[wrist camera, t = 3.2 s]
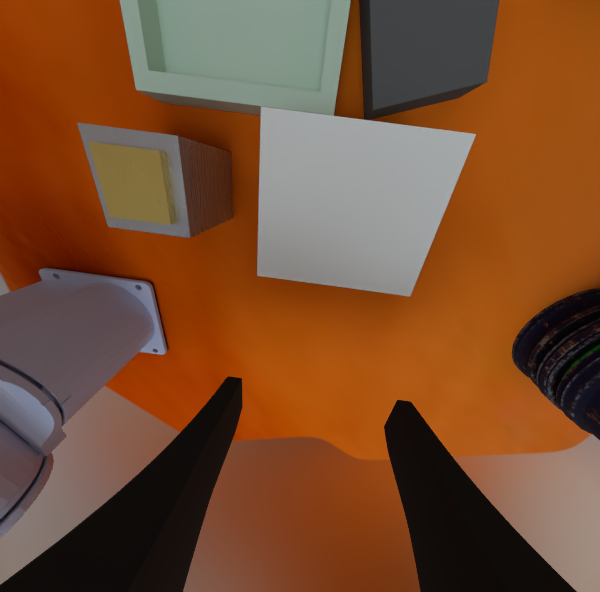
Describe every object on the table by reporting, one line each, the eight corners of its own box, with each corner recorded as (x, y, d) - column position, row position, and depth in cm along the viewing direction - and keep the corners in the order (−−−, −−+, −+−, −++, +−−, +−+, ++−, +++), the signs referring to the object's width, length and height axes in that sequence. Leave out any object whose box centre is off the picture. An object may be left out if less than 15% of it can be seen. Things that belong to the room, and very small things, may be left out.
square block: (363, 122, 13) (373, 110, 11) (358, -6, 11) (368, -54, 8) (456, 99, 12) (486, 81, 10) (471, -43, 10) (515, -106, 8)
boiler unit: (280, 242, 16) (257, 281, 10) (287, 139, 13) (260, 106, 7) (391, 257, 16) (436, 305, 10) (424, 157, 13) (516, 139, 7)
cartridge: (178, 210, 16) (100, 228, 10) (168, 143, 14) (66, 120, 8) (233, 218, 16) (186, 239, 10) (231, 152, 14) (171, 133, 8)
